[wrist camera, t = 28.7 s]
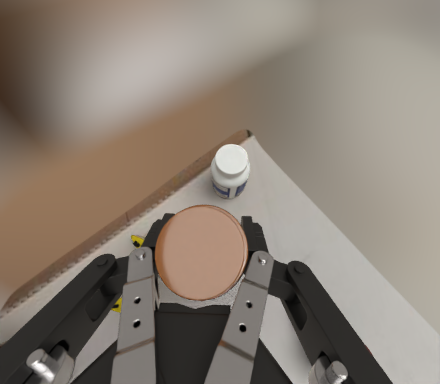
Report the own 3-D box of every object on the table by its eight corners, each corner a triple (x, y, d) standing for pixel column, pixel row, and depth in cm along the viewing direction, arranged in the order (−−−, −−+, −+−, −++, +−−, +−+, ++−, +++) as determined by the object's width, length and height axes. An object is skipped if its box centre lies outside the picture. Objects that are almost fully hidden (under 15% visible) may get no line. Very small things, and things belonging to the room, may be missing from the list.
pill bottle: (240, 166, 32) (247, 134, 22) (247, 195, 30) (259, 174, 21) (210, 172, 31) (205, 143, 22) (216, 202, 30) (213, 183, 21)
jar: (196, 285, 17) (168, 333, 8) (176, 234, 18) (132, 224, 9) (245, 260, 18) (272, 278, 8) (222, 212, 19) (224, 182, 10)
